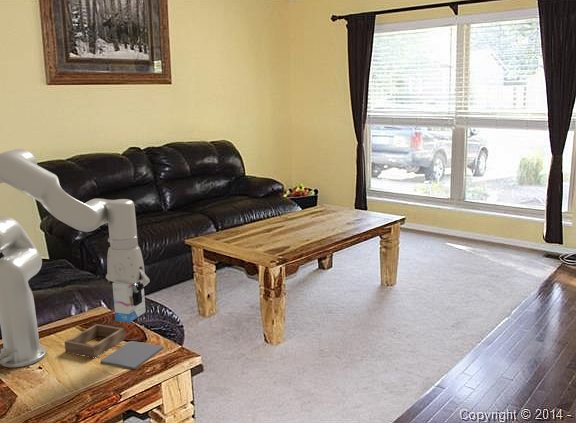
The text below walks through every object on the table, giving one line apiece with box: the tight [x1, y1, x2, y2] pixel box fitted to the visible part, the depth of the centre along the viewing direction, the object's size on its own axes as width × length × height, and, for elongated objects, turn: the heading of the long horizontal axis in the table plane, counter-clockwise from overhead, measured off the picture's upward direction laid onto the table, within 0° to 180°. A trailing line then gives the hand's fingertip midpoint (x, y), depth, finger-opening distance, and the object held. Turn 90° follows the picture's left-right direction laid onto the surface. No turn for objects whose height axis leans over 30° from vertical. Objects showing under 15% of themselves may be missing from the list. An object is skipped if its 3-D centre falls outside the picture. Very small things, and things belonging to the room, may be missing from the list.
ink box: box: [111, 280, 146, 323], centre depth 162 cm, size 9×5×12 cm, turn 161°
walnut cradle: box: [64, 323, 126, 359], centre depth 172 cm, size 14×11×4 cm
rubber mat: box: [100, 340, 164, 370], centre depth 165 cm, size 14×12×1 cm
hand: (129, 302), depth 162 cm, fingers closed on ink box, 5 cm apart
